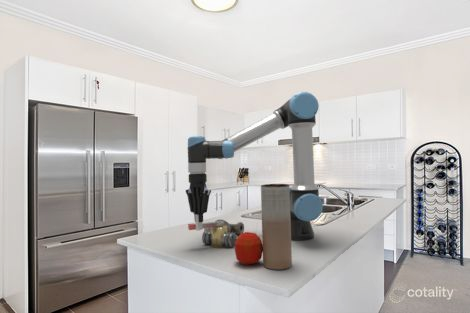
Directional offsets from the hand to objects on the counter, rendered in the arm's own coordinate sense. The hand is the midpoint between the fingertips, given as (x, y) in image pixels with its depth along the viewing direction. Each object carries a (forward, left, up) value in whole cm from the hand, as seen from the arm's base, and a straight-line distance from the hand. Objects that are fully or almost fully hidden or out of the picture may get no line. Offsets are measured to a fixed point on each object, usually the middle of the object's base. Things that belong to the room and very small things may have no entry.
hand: (199, 229), depth 122 cm
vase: (-36, +4, -9) cm, 37 cm away
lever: (-1, -4, 0) cm, 4 cm away
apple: (-26, +7, -9) cm, 28 cm away
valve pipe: (-5, -8, -8) cm, 13 cm away
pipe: (+2, -25, -9) cm, 26 cm away
